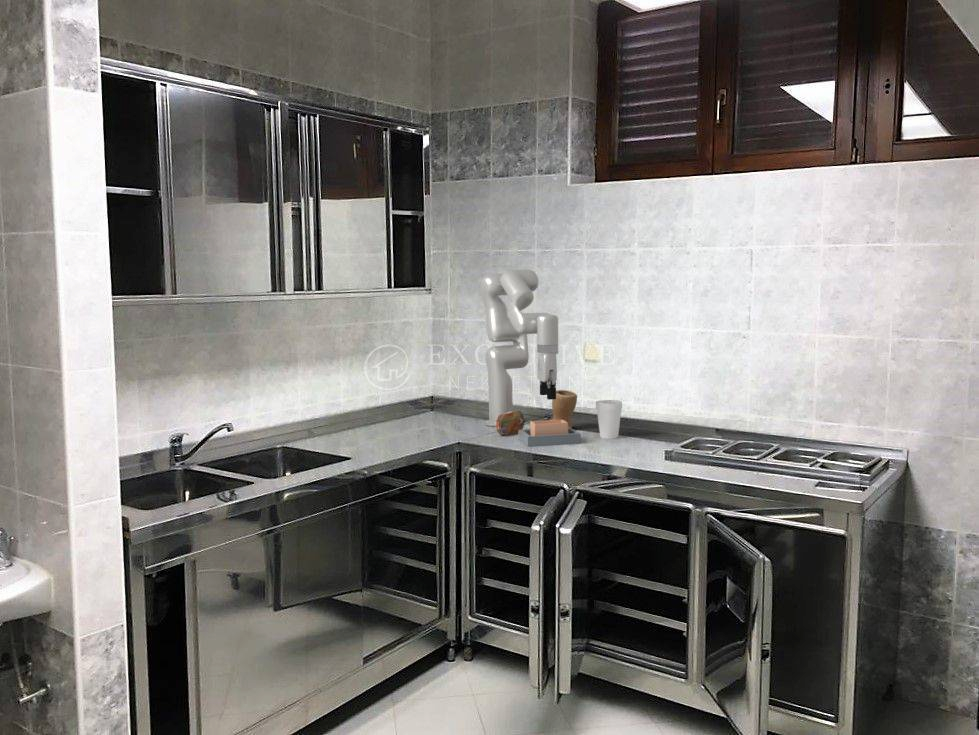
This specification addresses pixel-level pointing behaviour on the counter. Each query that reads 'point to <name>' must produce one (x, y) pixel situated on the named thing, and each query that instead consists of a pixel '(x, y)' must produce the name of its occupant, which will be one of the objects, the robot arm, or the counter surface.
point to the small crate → (548, 427)
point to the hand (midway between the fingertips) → (547, 397)
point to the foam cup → (609, 417)
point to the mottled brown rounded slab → (510, 423)
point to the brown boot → (564, 406)
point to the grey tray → (549, 438)
